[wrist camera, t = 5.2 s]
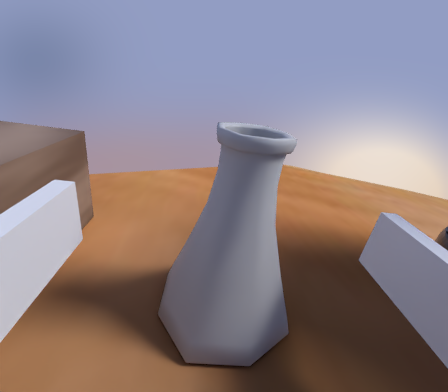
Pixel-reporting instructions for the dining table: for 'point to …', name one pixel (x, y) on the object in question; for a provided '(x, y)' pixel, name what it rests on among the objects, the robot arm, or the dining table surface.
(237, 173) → the flask
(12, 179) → the walnut block
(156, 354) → the dining table surface
